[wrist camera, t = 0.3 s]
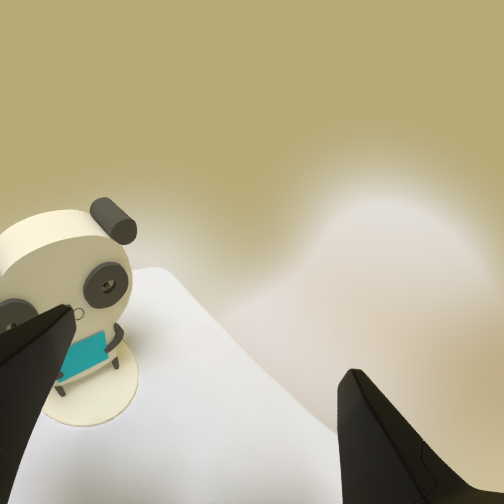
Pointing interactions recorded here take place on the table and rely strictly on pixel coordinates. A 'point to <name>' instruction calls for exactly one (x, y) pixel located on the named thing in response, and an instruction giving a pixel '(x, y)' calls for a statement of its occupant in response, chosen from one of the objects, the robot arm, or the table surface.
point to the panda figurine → (76, 303)
